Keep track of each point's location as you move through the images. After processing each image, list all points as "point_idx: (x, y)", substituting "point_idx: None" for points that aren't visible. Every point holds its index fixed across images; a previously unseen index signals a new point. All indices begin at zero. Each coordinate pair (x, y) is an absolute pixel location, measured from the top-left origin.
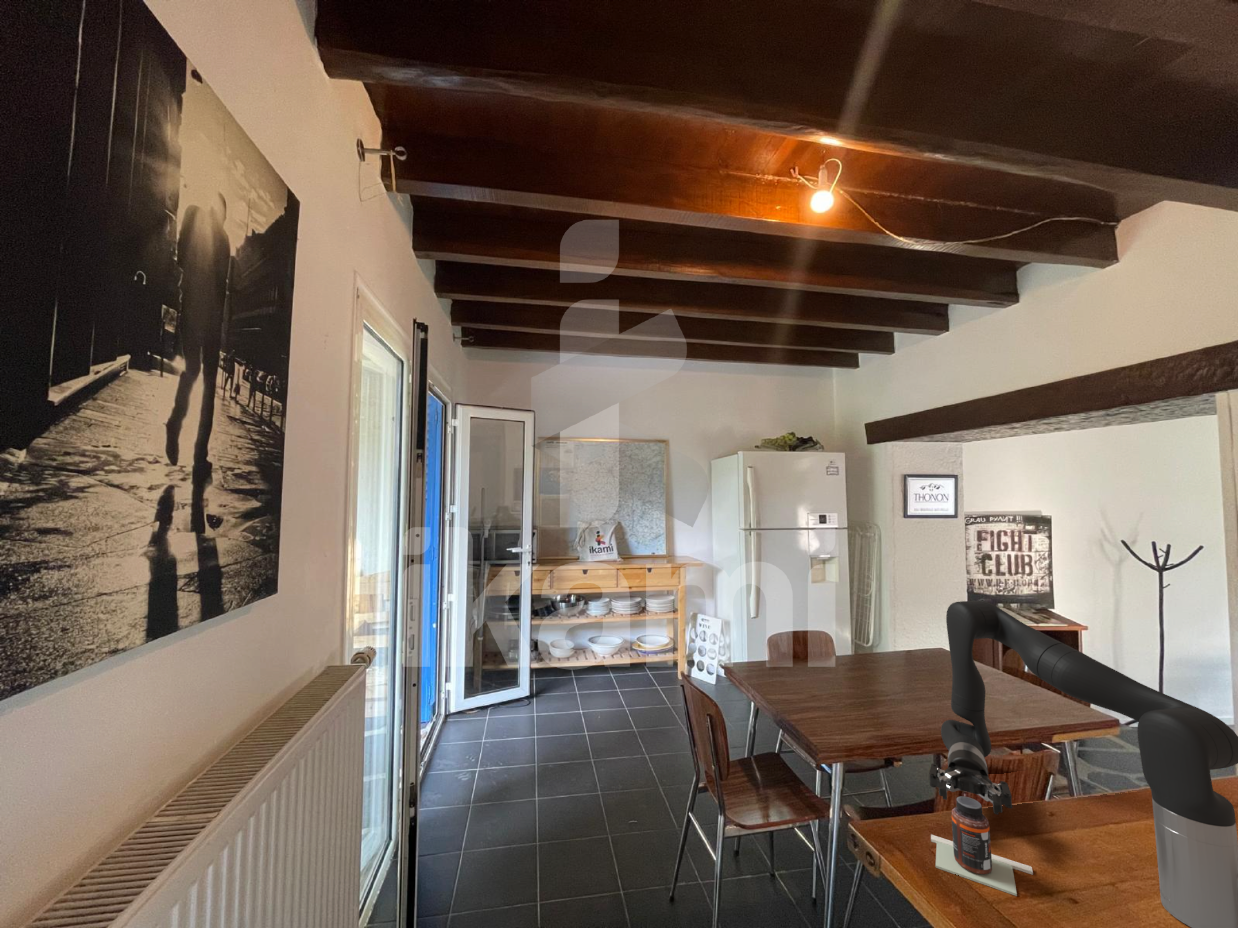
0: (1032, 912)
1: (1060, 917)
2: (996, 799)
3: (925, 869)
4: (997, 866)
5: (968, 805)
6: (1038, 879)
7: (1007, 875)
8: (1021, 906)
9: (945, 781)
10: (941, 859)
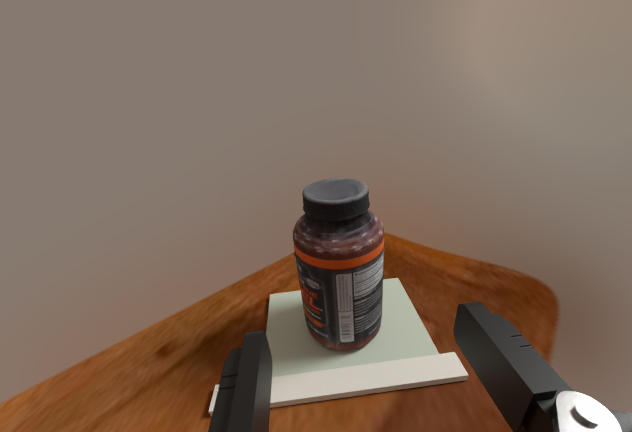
0: (255, 280)
1: (215, 293)
2: (241, 369)
3: (407, 268)
4: (295, 351)
5: (333, 181)
6: (210, 378)
7: (278, 334)
8: (268, 281)
9: (536, 391)
10: (397, 297)
